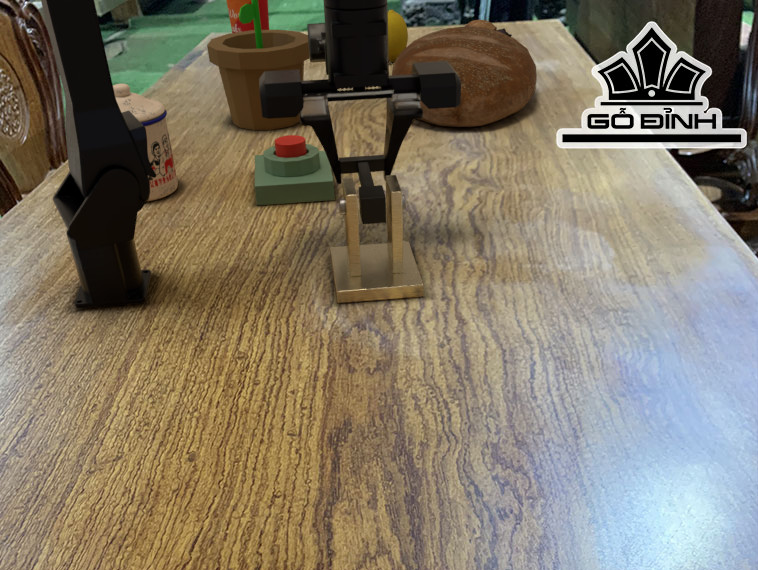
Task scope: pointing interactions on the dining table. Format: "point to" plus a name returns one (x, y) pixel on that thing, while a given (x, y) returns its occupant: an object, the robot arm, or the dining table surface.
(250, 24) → the paper cup
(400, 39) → the lemon
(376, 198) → the press lever
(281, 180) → the control block
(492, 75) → the bread
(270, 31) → the flowerpot
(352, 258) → the lever base
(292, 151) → the button
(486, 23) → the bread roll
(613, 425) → the dining table surface
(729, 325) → the dining table surface
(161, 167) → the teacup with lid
